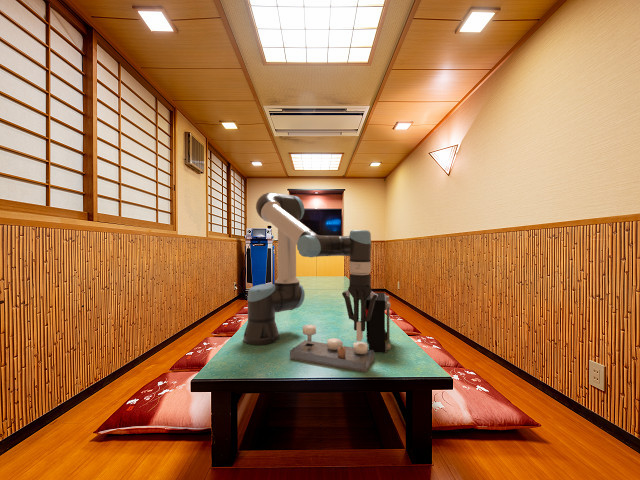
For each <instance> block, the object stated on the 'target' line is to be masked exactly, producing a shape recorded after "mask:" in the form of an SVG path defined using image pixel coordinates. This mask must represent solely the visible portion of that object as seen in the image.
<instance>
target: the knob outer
mask: <svg viewBox="0 0 640 480" xmlns="http://www.w3.org/2000/svg"><path fill="white" fill-rule="evenodd" d="M352 345H353V346H352V347H353V351H354V352H355V353H358V354H362V355H363V354H365V353H367V352H368V350H369V343H367V342H365V341H355V342H353V344H352Z"/></svg>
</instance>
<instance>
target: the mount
mask: <svg viewBox="0 0 640 480" xmlns="http://www.w3.org/2000/svg"><path fill="white" fill-rule="evenodd" d="M343 347H345V358H339V357H338V349H337V350H331V349H328V348H327V342H326V343H325V342H320V341H318V342H317V341H311V342H308V341H307V340H303V341H302V342H300V343H299V344H297V345H296V346H294V347H293V348H291V349H290V350H289V359H290V360H295V361H299V362H300V361H301V362H306V363H311V364H317V365H323V366H329V367H334V368H339V369H345V370H352V371H356V372H362V373H367V372H368V370H369V368H370V366H371V365H372V363H373V362H374V360H375V352H374V350H369V349H368V352H367V353H365V354H363V355H362V354H358V353H355V352H354V351H353V346H346V345H343Z"/></svg>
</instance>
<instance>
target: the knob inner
mask: <svg viewBox="0 0 640 480" xmlns="http://www.w3.org/2000/svg"><path fill="white" fill-rule="evenodd" d="M302 334H303V335H305V336H306V337H307V338H306V339H307V340H306V341H308V342H311V341H312V336H314V335H316V334H317V326H316V325H314V324H304V325H303V326H302Z"/></svg>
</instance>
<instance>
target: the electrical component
mask: <svg viewBox="0 0 640 480" xmlns="http://www.w3.org/2000/svg"><path fill="white" fill-rule="evenodd" d="M374 293H375V294H378V297H377V299H376V300H375V304H374V308H373V312H372V316H371V319H370V320H369V321H366V322H365V331H366V335H365V337H366V341H368V350H374V353H377V354H386V353H387V352H388V350H391V349H392V347H391V343H390V341H391V340H390V337H391V336H390V307H391V302H390V295H387V294H386V293H384V292H374ZM370 296H371V294H370V295H369V296H368V298H367V299H366V317H367V313H368V309H369V305H370V301H371V297H370ZM385 314H386V315H385Z"/></svg>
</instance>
